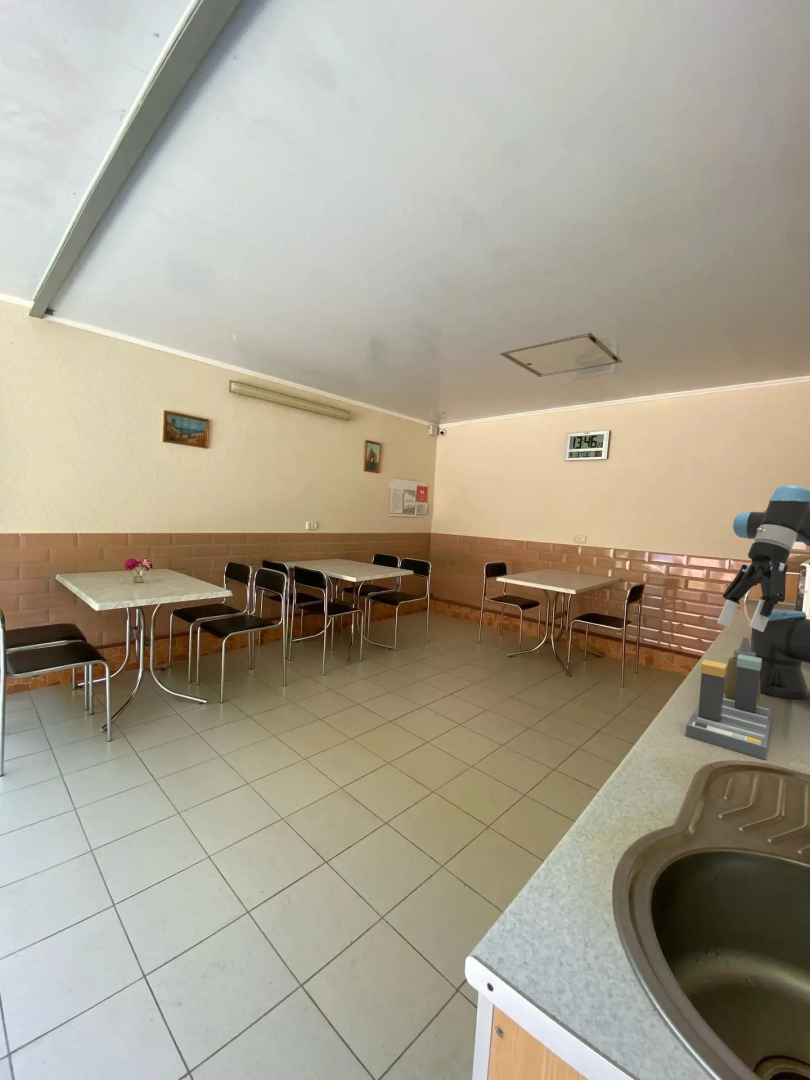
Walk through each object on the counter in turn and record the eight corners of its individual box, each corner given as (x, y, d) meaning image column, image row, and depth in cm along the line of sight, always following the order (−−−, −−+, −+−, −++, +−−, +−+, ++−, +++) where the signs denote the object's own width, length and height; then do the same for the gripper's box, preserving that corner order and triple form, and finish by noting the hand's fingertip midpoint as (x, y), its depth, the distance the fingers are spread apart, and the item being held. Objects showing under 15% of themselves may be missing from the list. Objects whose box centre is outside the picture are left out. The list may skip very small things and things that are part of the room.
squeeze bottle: (754, 703, 122) (760, 636, 120) (763, 714, 114) (769, 644, 113) (718, 696, 125) (723, 632, 124) (725, 708, 118) (730, 639, 117)
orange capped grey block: (699, 713, 107) (704, 659, 107) (722, 719, 104) (727, 664, 104) (696, 719, 104) (701, 663, 103) (719, 726, 101) (724, 668, 100)
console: (703, 702, 121) (704, 689, 120) (771, 719, 112) (772, 705, 111) (685, 735, 102) (686, 720, 102) (765, 759, 93) (766, 743, 92)
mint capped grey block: (734, 705, 113) (739, 654, 112) (757, 711, 110) (761, 658, 109) (733, 711, 109) (737, 658, 109) (756, 717, 107) (760, 662, 106)
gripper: (727, 545, 124) (697, 617, 122) (791, 533, 99) (754, 623, 98) (755, 557, 122) (725, 629, 121) (827, 547, 98) (791, 638, 97)
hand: (738, 627), depth 110 cm, fingers open, 13 cm apart
